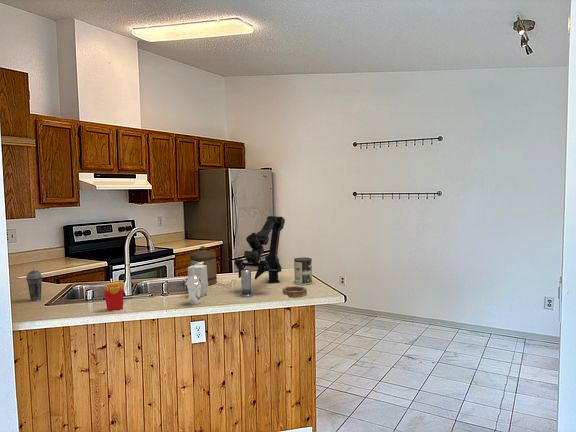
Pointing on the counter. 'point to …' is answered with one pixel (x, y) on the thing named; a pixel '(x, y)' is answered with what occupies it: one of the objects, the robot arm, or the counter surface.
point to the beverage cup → (34, 284)
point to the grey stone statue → (194, 287)
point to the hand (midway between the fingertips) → (247, 278)
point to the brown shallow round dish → (295, 291)
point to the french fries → (114, 295)
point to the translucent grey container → (206, 263)
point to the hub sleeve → (246, 283)
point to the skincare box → (202, 273)
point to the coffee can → (303, 270)
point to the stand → (246, 297)
